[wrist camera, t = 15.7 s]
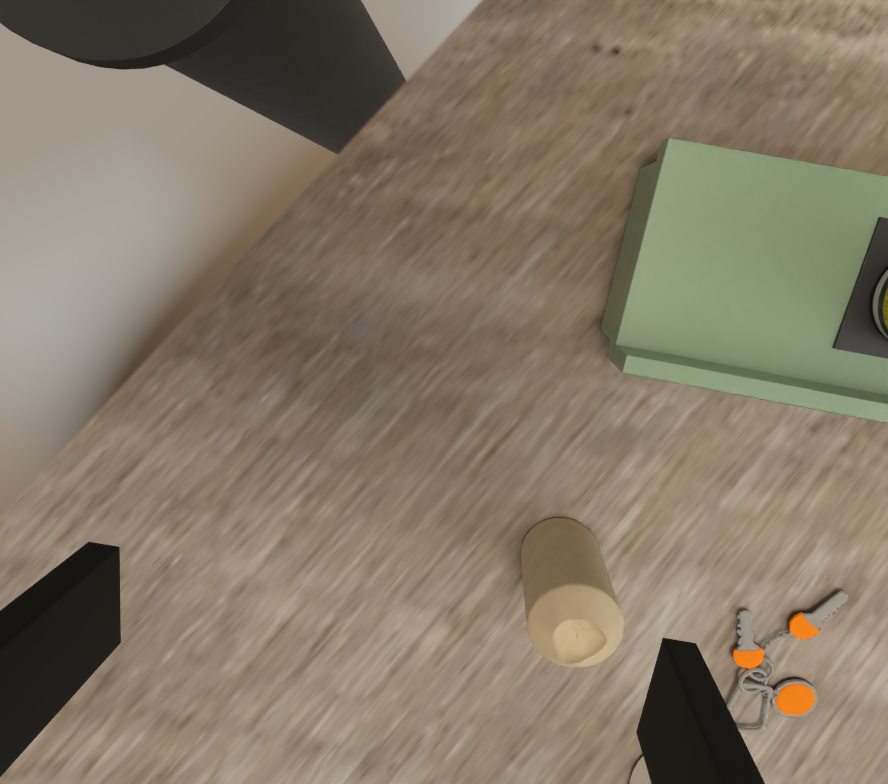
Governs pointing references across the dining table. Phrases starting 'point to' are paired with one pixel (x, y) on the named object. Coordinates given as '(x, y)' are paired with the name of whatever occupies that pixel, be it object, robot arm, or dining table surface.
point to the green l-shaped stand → (754, 279)
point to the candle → (569, 595)
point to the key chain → (790, 694)
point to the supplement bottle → (881, 304)
